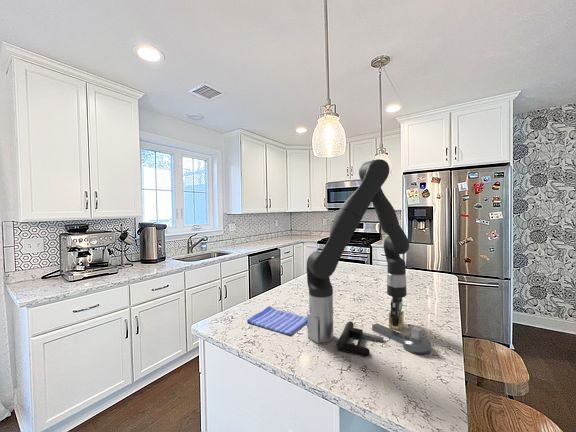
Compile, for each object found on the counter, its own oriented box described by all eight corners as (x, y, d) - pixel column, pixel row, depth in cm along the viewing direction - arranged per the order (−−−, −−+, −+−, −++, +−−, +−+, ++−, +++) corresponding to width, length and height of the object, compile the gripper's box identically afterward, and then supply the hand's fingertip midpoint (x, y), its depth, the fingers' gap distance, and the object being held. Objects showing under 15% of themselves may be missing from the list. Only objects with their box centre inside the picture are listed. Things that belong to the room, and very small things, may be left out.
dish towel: (269, 310, 132) (268, 305, 132) (311, 321, 119) (311, 315, 119) (245, 323, 118) (245, 317, 118) (290, 337, 105) (290, 330, 105)
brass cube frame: (402, 330, 108) (402, 316, 108) (389, 327, 110) (389, 313, 110) (403, 325, 112) (403, 311, 112) (391, 323, 115) (391, 309, 115)
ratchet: (422, 358, 88) (422, 337, 88) (367, 332, 107) (367, 315, 107) (436, 349, 94) (436, 329, 93) (381, 326, 112) (381, 309, 112)
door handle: (384, 328, 106) (344, 319, 112) (380, 354, 88) (332, 342, 94) (384, 336, 106) (344, 327, 113) (379, 364, 88) (332, 351, 94)
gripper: (390, 278, 119) (390, 314, 119) (383, 287, 106) (384, 327, 107) (408, 280, 115) (408, 317, 115) (404, 290, 103) (404, 331, 103)
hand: (397, 321), depth 111 cm, fingers open, 8 cm apart
